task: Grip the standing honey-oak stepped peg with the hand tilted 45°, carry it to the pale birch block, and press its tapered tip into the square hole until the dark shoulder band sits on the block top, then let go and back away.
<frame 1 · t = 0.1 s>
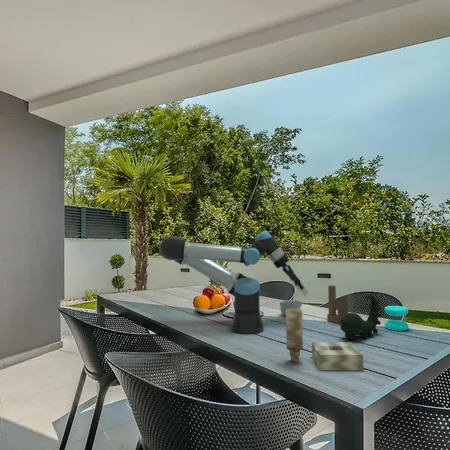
hand: (304, 292, 188), 15 cm above the table, tool tilted 35°, fingers open, 13 cm apart
cyan spool: (396, 329, 174), on the table
teacup: (292, 315, 205), on the table
toy figurine: (360, 337, 161), on the table
birch socket block: (336, 362, 130), on the table
oak peg: (294, 361, 132), on the table
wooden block: (337, 323, 187), on the table
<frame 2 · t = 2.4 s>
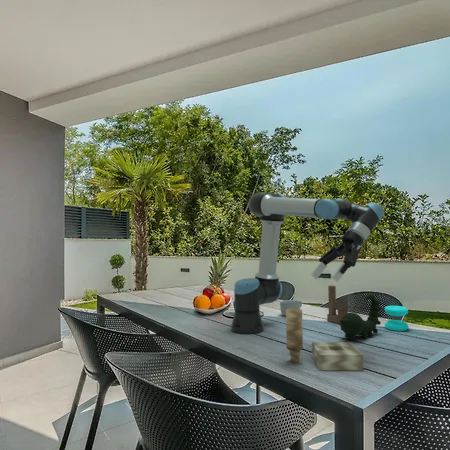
hand: (323, 278, 140), 28 cm above the table, tool tilted 45°, fingers open, 13 cm apart
nothing on the table moved.
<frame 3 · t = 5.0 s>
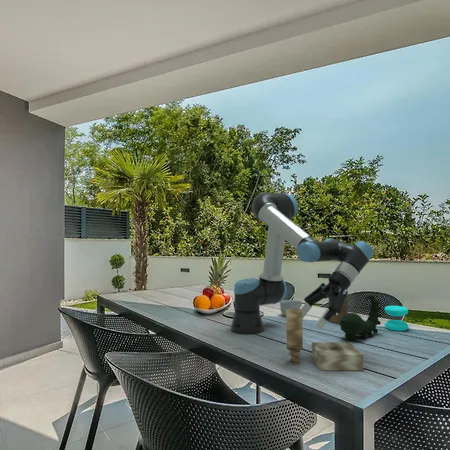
hand: (307, 322, 133), 14 cm above the table, tool tilted 45°, fingers open, 13 cm apart
nothing on the table moved.
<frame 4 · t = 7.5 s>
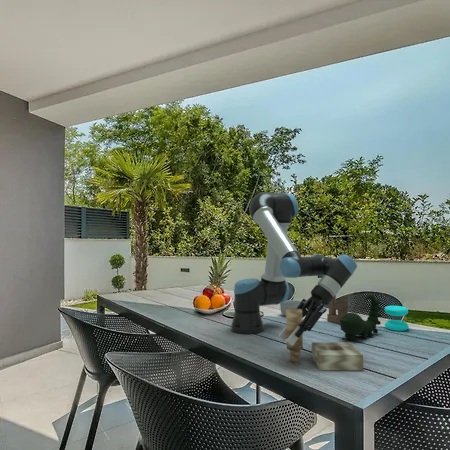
hand: (285, 340, 131), 8 cm above the table, tool tilted 45°, fingers closed on oak peg, 5 cm apart
oak peg: (295, 361, 132), on the table, touching gripper
everything else where it was.
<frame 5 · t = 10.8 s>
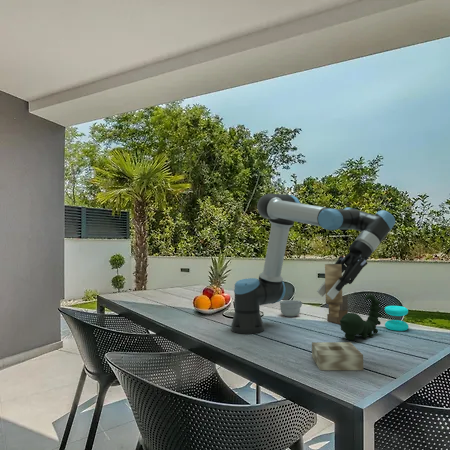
hand: (324, 295, 129), 24 cm above the table, tool tilted 45°, fingers closed on oak peg, 5 cm apart
oak peg: (334, 316, 130), point 16 cm above the table, touching gripper
everything else where it was.
when the fingers open (8 cm above the table, at t = 14.4 s): oak peg stays where it is, resting on birch socket block.
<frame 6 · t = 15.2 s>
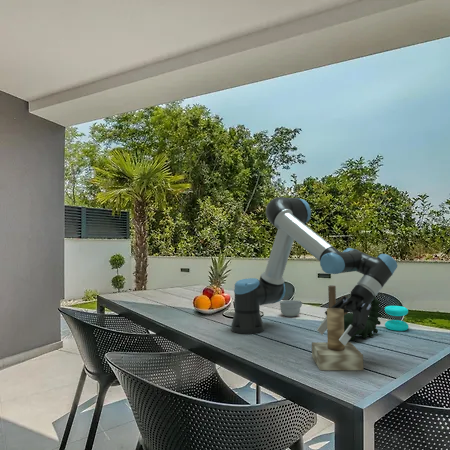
hand: (329, 337, 129), 9 cm above the table, tool tilted 45°, fingers open, 13 cm apart
oak peg: (336, 361, 130), resting on birch socket block
everything else where it was.
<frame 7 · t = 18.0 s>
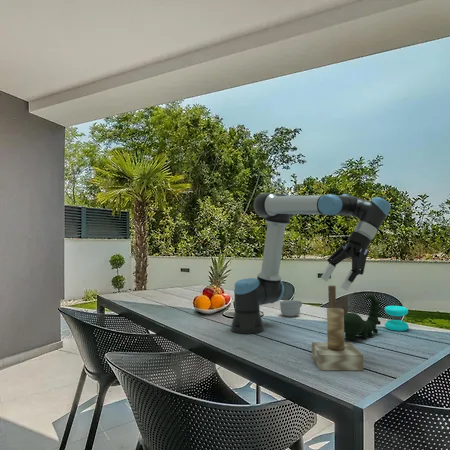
hand: (333, 284, 140), 26 cm above the table, tool tilted 35°, fingers open, 13 cm apart
nothing on the table moved.
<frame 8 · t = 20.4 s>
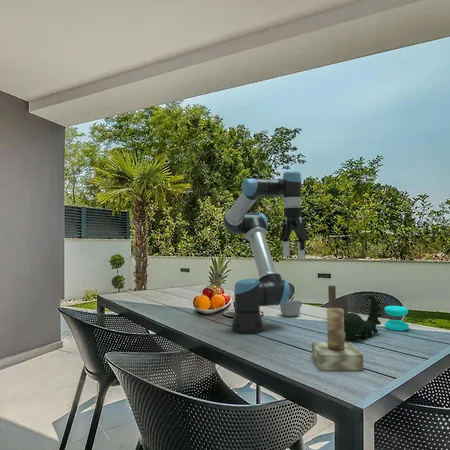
hand: (293, 257, 161), 35 cm above the table, tool pointing down, fingers open, 13 cm apart
nothing on the table moved.
at the end: oak peg 0.0 cm off-centre on the birch socket block, point 0.4 cm above the birch socket block's base; oak peg tilted 0°; the gripper is holding nothing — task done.
